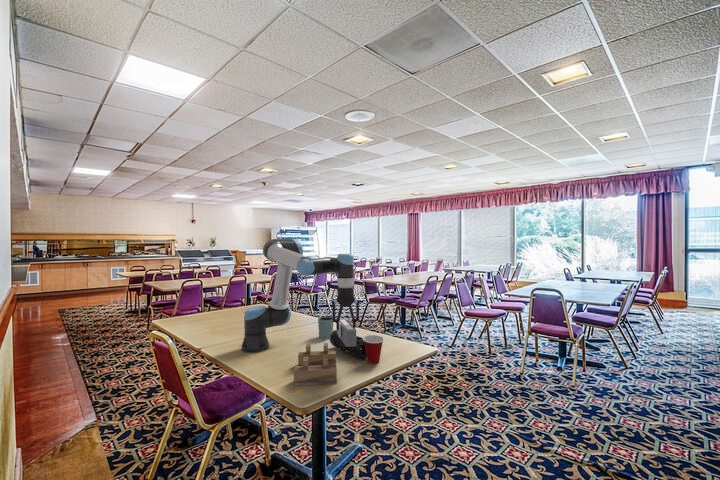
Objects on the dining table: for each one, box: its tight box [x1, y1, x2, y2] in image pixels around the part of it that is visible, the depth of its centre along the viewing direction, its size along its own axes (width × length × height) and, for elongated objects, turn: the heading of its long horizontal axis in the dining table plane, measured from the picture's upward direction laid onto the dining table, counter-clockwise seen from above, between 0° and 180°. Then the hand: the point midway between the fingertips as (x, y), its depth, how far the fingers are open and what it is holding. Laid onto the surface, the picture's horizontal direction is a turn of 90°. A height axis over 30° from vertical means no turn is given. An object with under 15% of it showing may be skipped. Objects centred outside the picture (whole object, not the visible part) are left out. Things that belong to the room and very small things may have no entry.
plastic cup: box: [362, 334, 385, 364], centre depth 174 cm, size 11×11×12 cm
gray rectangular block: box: [336, 318, 357, 347], centre depth 163 cm, size 4×22×7 cm, turn 15°
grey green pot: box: [317, 316, 335, 340], centre depth 219 cm, size 10×10×12 cm
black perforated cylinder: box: [328, 329, 367, 360], centre depth 189 cm, size 10×28×10 cm, turn 39°
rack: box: [293, 342, 338, 386], centre depth 160 cm, size 26×18×10 cm
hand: (345, 336), depth 163 cm, fingers closed on gray rectangular block, 5 cm apart
